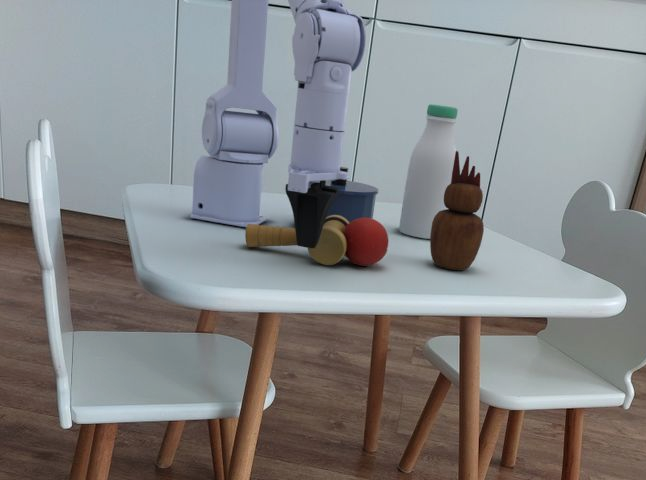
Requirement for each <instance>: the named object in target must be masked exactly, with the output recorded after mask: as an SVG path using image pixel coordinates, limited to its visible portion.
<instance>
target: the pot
mask: <svg viewBox="0 0 646 480" xmlns="http://www.w3.org/2000/svg"><path fill="white" fill-rule="evenodd" d="M376 198H377V194H376V195H368V196H362V195H347V194H338V195H337V197H336V198H335V200H334V202H333V203H332V205H331V207H330V209H329V211H328V214H327V216H326V217H328V216H331V215H339V216H342V217H344V218H345V219H347V220H348V221H349V223H350V222H352V221H353V220H356V219H358V218H372V219H374V212H375V206H376V205H375V204H376Z"/></svg>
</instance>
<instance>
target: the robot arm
mask: <svg viewBox="0 0 646 480" xmlns="http://www.w3.org/2000/svg"><path fill="white" fill-rule="evenodd" d="M287 2H288V5H289V8H290V11H291V14H292V17H293V20H294V23H295V26H294V31H293V34H292V37H291V39H292V40H291V41H292V42H291V43H292V44H291V46H292V54H293V59H294V69H293V76H294V80H295V81H297V92H296V102H295V112H294V113H295V114H294V123H293V124H294V125H293V132H292V142H291V143H292V144H291V154H290V164H288V169H287V172H288V181H287V183H286V184H285V187H284V188H285V189H284V190H285V193H286V196H287V198H288V201H289V204H290V207H291V210H292V215H293V222H294V228H295V232H296V240H297V245H296V246H297V247H301V248H307V249H308V248H315V247H316V246H317V243H318V241H319V238H320V235H321V231H322V228H323V225H324V222H325V219H326V216H327V214H328V211H329V209H330V207H331V205H332V203H333V202H334V200H335V198H336V197H337V195H338V194H339V188H337V187H333V186H325V184H326V181H327V180H331V181H334V180H337V179H343V180H347V181H348V180H350V172H349V171H348V172H343V171H340V167H341V164H342V154H343V146H344V138H345V129H346V123H347V122H346V120H347V114H348V105H349V98H350V97H349V96H350V89H351V80H352V72H354V71H356V70H357V69H358V68H359V66H360V65H361V63H362V60H363V58H364V54H365V51H366V42H367V34H366V33H367V32H366V29H365V28H366V27H365V24H364V19H363V18H362V16H361V15H359V14H356V13H353V11H352V9H348V8H346V6H345V4H344V3H345V2H344V0H287ZM230 5H231V7H230V21H229V23H230V24H229V45H228V61H227V78H226V79H227V80H226V85H224V86H223V87H222V88H220V89H218V90H217V91H215V92H213V94H211V95H210V96H208V98H207V99H206V102H205V111H204V115H203V118H202V124H201V141H202V145H203V148H204V150H205V151H206V153H207V154H208V155H202V156H200V157H199V158H198V160H197V161H196V164H195V168H194V171H193V186H192V187H193V188H192V206H191V207H192V208H191V209H192V211H191V214H190V215H189V218H190V219H195V220H201V221H206V222H212V223H219V224H224V225H231V226H235V227H241V228H246V227H247V225H248V224H256V225H262V224H263V223H264V222H267V221H268V220H269V217H267V216H264V215H263V216H262V215H260V212H261V198H262V187H263V172H264V164H268V163H269V160H270V159H271V158H272V157H273V156H274V154H275V153H276V151H277V149H278V145H279V136H280V135H279V134H280V131H279V126H278V108H277V106H276V104H275V103H273V101H272V100H271V99H270V98H269V97H268V96H267V95H266V94H265V92H264V91H263V85H264V72H265V71H264V69H265V59H266V43H267V28H268V27H267V25H268V14H269V13H268V12H269V0H231V4H230ZM227 109H239V110H240V109H241V110H249V111H255V113H251V112H242V111H233V110H227Z"/></svg>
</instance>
